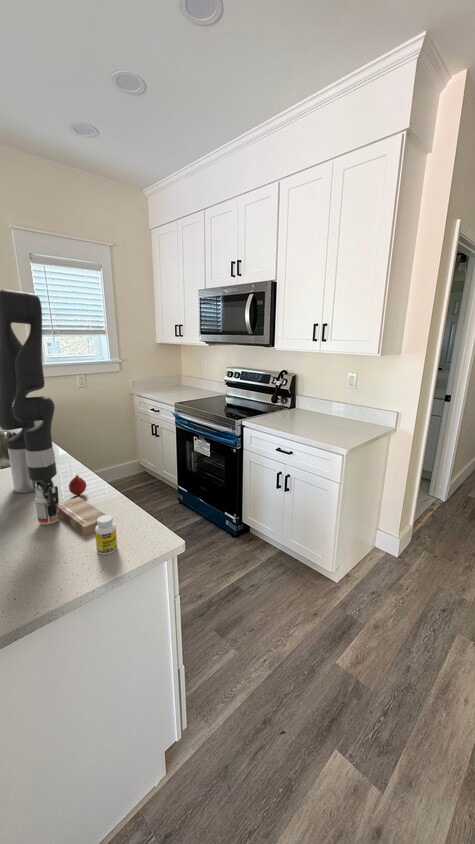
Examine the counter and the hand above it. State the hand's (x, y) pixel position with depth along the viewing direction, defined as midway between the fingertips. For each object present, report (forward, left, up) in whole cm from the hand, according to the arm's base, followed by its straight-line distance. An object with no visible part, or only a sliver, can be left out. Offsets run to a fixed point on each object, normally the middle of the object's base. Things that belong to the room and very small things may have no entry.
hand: (48, 511), depth 111 cm
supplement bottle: (+26, +5, -4) cm, 27 cm away
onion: (-12, +15, -4) cm, 20 cm away
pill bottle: (0, 0, -3) cm, 3 cm away
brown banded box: (+5, +8, -4) cm, 10 cm away
